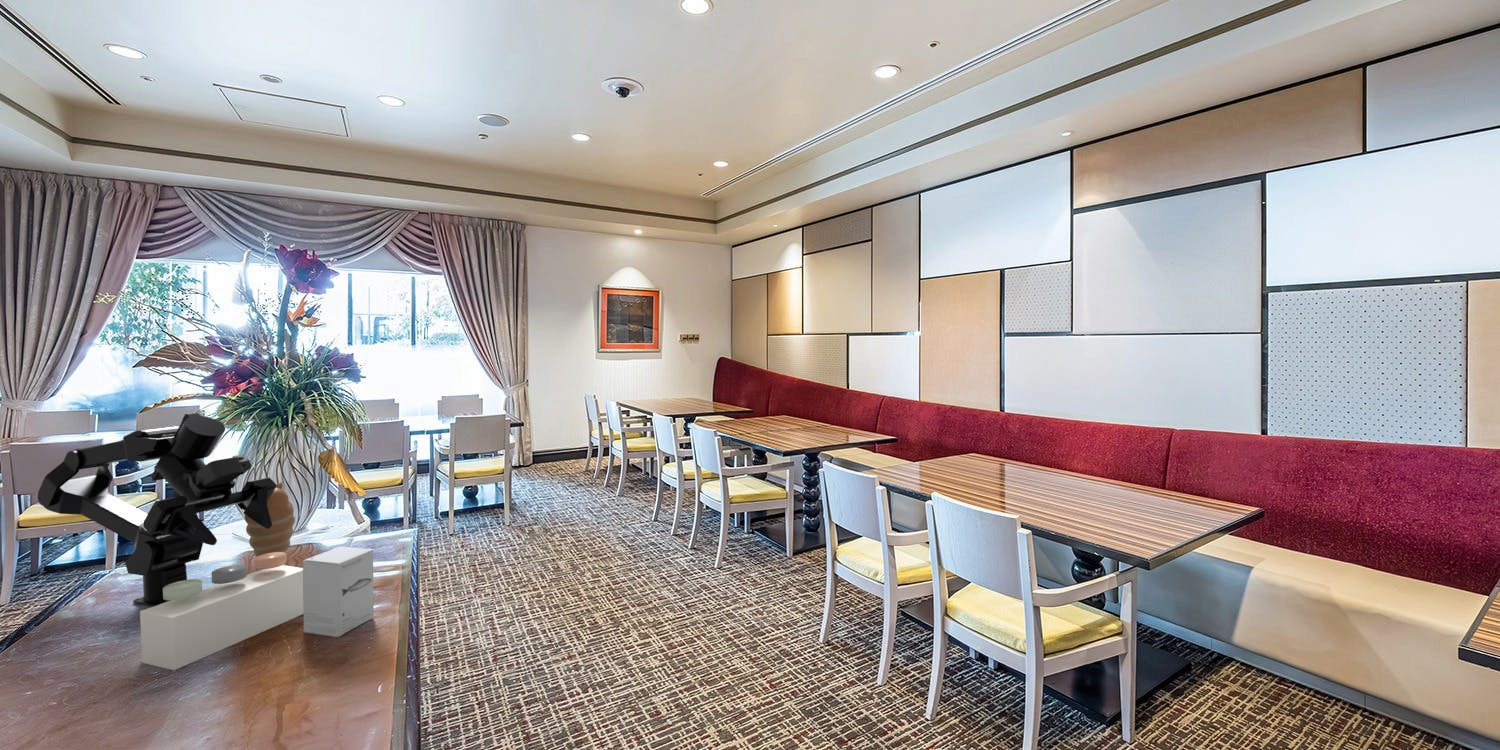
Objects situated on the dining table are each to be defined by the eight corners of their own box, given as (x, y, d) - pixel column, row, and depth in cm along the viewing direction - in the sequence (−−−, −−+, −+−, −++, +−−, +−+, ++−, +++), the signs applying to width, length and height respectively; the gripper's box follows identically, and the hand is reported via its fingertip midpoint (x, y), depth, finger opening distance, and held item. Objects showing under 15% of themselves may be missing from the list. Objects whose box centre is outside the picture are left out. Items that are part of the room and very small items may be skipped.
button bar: (141, 662, 90) (140, 611, 89) (278, 606, 109) (277, 564, 108) (174, 670, 88) (172, 617, 87) (307, 612, 107) (306, 568, 107)
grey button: (204, 581, 97) (204, 572, 97) (234, 572, 101) (234, 563, 101) (224, 585, 96) (223, 576, 96) (253, 575, 100) (253, 566, 100)
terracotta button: (247, 567, 103) (247, 559, 103) (274, 558, 107) (274, 550, 107) (266, 570, 102) (266, 562, 102) (292, 561, 106) (292, 553, 106)
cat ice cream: (277, 559, 132) (275, 479, 131) (306, 562, 130) (304, 481, 129) (235, 574, 123) (233, 489, 122) (266, 577, 122) (264, 491, 121)
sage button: (155, 598, 91) (155, 588, 91) (189, 586, 95) (189, 577, 95) (175, 602, 90) (175, 592, 89) (209, 590, 94) (208, 581, 94)
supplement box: (339, 638, 98) (337, 563, 97) (302, 633, 99) (300, 559, 99) (375, 618, 105) (374, 548, 105) (340, 613, 107) (339, 545, 106)
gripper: (145, 453, 98) (203, 516, 95) (263, 436, 116) (314, 489, 113) (119, 503, 100) (174, 566, 97) (238, 478, 118) (288, 531, 115)
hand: (243, 534), depth 106 cm, fingers open, 9 cm apart
